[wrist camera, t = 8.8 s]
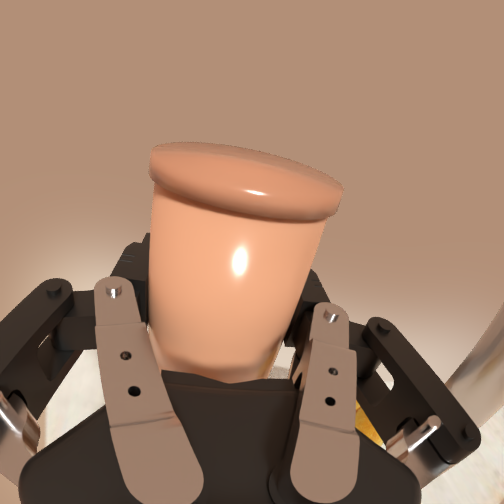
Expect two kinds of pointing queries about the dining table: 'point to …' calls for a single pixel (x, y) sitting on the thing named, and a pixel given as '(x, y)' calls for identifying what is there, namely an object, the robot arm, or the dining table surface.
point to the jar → (229, 255)
